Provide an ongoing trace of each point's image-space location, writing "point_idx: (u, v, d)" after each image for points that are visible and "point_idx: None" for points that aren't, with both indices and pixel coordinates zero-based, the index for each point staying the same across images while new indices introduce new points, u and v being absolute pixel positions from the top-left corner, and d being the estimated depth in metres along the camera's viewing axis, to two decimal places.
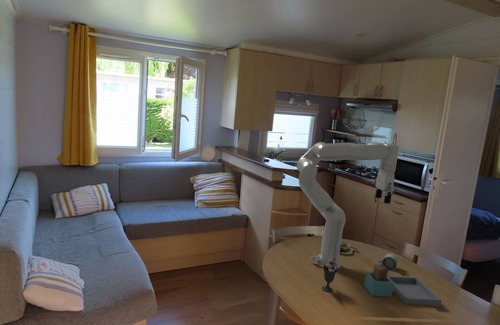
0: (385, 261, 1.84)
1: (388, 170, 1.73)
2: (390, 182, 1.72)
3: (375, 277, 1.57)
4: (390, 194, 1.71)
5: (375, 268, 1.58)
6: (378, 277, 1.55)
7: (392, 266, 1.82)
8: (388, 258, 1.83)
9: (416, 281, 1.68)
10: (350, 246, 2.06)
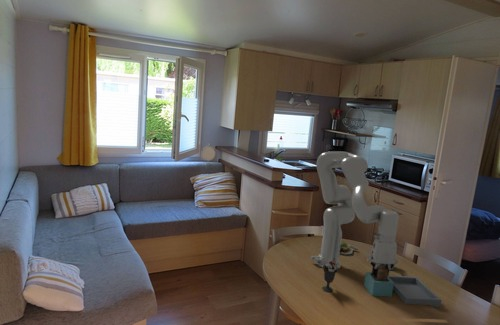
0: None
1: None
2: None
3: (375, 277, 1.57)
4: None
5: None
6: (378, 277, 1.55)
7: None
8: None
9: (416, 281, 1.68)
10: (350, 246, 2.06)
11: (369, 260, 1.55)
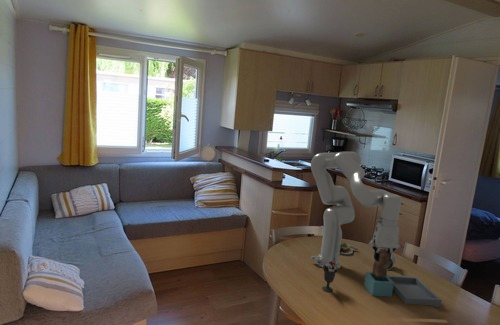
0: None
1: None
2: None
3: (377, 261, 1.56)
4: None
5: None
6: (380, 261, 1.54)
7: (389, 265, 1.83)
8: None
9: (416, 281, 1.68)
10: (350, 246, 2.06)
11: (371, 244, 1.54)
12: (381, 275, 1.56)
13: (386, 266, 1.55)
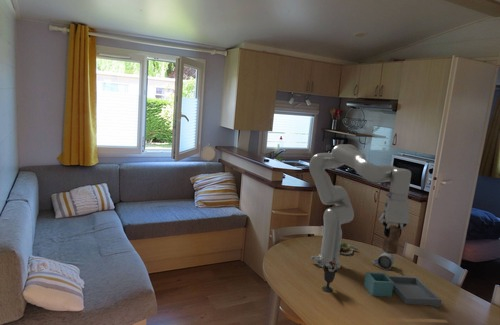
0: (381, 260, 1.86)
1: None
2: None
3: (387, 237, 1.54)
4: None
5: None
6: (390, 237, 1.52)
7: (388, 265, 1.84)
8: (384, 257, 1.84)
9: (416, 281, 1.68)
10: (350, 246, 2.06)
11: (381, 219, 1.52)
12: (392, 251, 1.53)
13: (397, 242, 1.53)
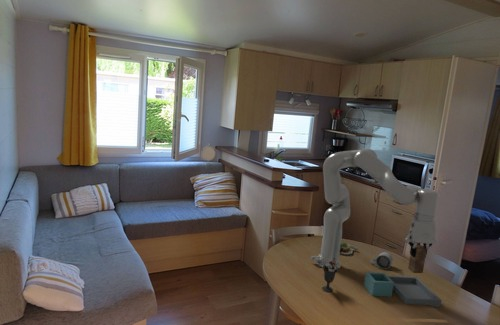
0: (379, 259, 1.86)
1: None
2: None
3: (413, 257, 1.56)
4: None
5: None
6: (417, 257, 1.55)
7: (386, 264, 1.84)
8: (382, 256, 1.85)
9: (416, 281, 1.68)
10: (350, 246, 2.06)
11: (407, 240, 1.55)
12: (418, 271, 1.56)
13: (423, 262, 1.55)
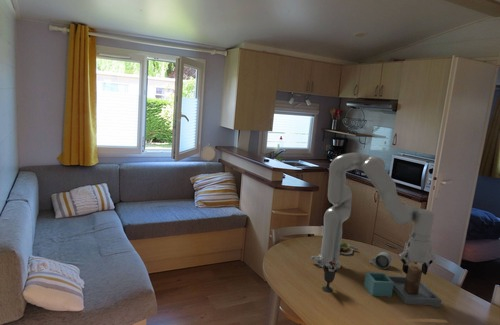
0: (378, 259, 1.86)
1: None
2: None
3: (409, 279, 1.58)
4: None
5: (409, 270, 1.59)
6: (412, 279, 1.57)
7: (385, 264, 1.84)
8: (381, 256, 1.85)
9: None
10: (350, 246, 2.06)
11: (401, 256, 1.56)
12: (413, 292, 1.58)
13: (418, 283, 1.57)
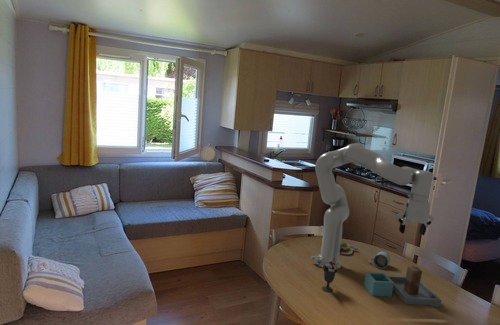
0: (377, 259, 1.86)
1: None
2: None
3: (409, 279, 1.58)
4: None
5: (409, 270, 1.59)
6: (412, 279, 1.57)
7: (384, 264, 1.84)
8: (380, 256, 1.85)
9: None
10: (350, 246, 2.06)
11: (399, 215, 1.57)
12: (413, 292, 1.58)
13: (418, 283, 1.57)
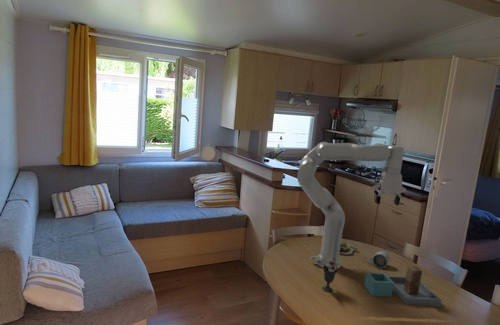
0: (376, 258, 1.87)
1: None
2: None
3: (409, 279, 1.58)
4: None
5: (409, 270, 1.59)
6: (412, 279, 1.57)
7: (383, 263, 1.85)
8: (379, 255, 1.86)
9: None
10: (350, 246, 2.06)
11: (375, 187, 1.72)
12: (413, 292, 1.58)
13: (418, 283, 1.57)
